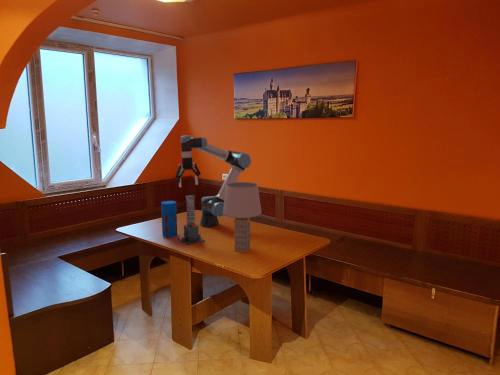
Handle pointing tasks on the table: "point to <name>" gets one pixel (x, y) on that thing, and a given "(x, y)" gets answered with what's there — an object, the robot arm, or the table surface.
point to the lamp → (242, 210)
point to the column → (190, 210)
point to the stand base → (191, 235)
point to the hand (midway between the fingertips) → (188, 185)
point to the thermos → (169, 219)
